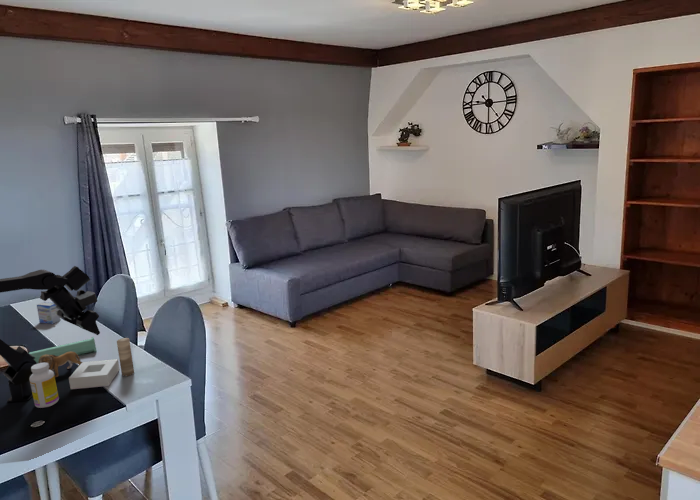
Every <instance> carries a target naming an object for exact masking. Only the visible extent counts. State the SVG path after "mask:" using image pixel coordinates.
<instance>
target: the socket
mask: <svg viewBox="0 0 700 500" xmlns="http://www.w3.org/2000/svg"><path fill="white" fill-rule="evenodd" d="M81 362H82V363H81V364H80V366H79V365H78V366H79V367H78V366H77V367H76V369H75V370H74V371H73V373H71V375H70V376H69V377H68V383H69V387H70V390H77V389H89V388H98V387H109V386H110V385H111V383H112V381H114V379H115V377H116V376H117V374H118V373H119V371H121V368H120V361H119V358H118V359H117V358H115V359H107V360H105V359H104V360H90V361H81Z"/></svg>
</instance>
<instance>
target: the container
mask: <svg viewBox="0 0 700 500" xmlns="http://www.w3.org/2000/svg"><path fill="white" fill-rule="evenodd" d="M71 351H72V352H75V353H76V354H77V355H78V356H79V355H83V354H88V353H92V352H94V353H95V352H97V347H96V341H95V337H94V336H91V338H87V339H85V340H84V339H83V340H80V341H75V342H70V343H66V344H62V345H57V346H53V347H47V348H44V349H43V348H42V349H39V350H35V351H30V352H28V353H29V354H31V355H32V356H34V357H35V359H34V360H35V361H36V363H37V364H38V363H39V358H40V357H41V356H43V355H46V354H49V355H55V356H60V355H62V354H64V353H66V352H71Z"/></svg>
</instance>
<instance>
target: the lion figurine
mask: <svg viewBox="0 0 700 500" xmlns="http://www.w3.org/2000/svg"><path fill="white" fill-rule="evenodd" d="M44 362H45V363H48V364H49V370H52V371H53V372H54V376H55V378H58V377H59V367H61V366H63V365H65V364H66V363H68V364H69V365H68V366H67V367H66V369H67V370H68V369H72V366H73V365H74V364H76V365H78V366H77V368H78V367H79V366H80V364H81V363H82V362H83V361H81V359H80V356H79V355H77V354H76V353H75V352H72V351H71V352H66V353H64V354H62V355H60V356H55V355H49V354H46V355H43V356H41V357H40V358H39V363H44Z"/></svg>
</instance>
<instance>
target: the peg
mask: <svg viewBox="0 0 700 500" xmlns="http://www.w3.org/2000/svg"><path fill="white" fill-rule="evenodd" d="M116 345H117V352H118V360H119V367H120V371H121V376H123V377H129V376H132V375H134V374H135V368H134V361H133V355H132V349H131V341H130V338H129V337H124V338H122V337H121V338H120V339H117V340H116Z"/></svg>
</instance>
